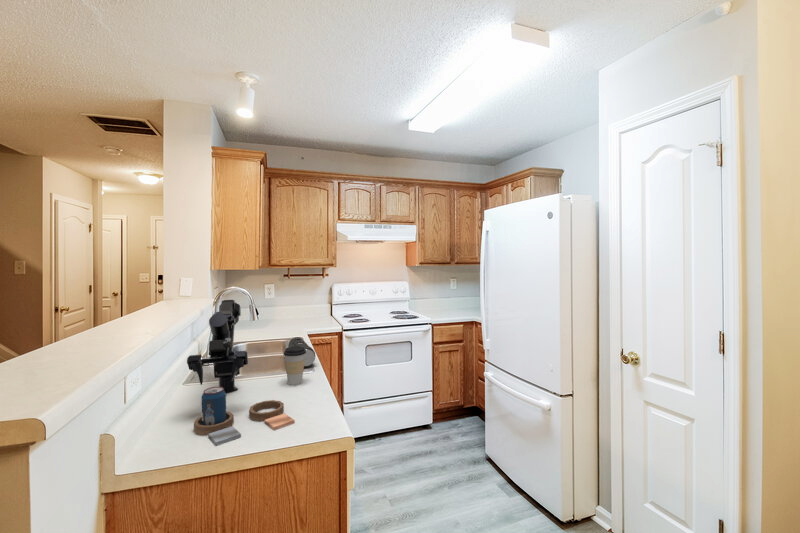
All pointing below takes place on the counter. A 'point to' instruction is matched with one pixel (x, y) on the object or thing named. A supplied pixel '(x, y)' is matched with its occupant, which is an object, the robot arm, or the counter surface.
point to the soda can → (213, 406)
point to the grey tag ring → (218, 430)
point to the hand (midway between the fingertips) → (216, 382)
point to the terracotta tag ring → (270, 414)
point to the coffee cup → (294, 364)
